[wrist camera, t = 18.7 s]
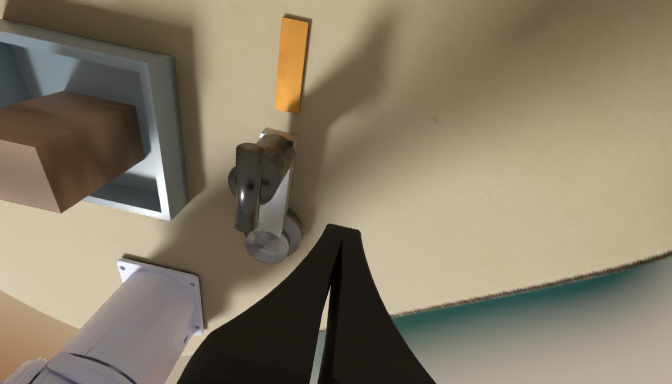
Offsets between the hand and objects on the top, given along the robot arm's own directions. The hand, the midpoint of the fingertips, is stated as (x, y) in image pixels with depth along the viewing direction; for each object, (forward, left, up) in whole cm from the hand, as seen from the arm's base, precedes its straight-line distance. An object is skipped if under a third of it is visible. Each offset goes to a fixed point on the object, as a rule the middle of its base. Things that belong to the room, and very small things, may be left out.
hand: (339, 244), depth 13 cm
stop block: (-2, +18, -9) cm, 20 cm away
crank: (-4, +5, -8) cm, 10 cm away
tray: (-2, +18, -9) cm, 20 cm away
